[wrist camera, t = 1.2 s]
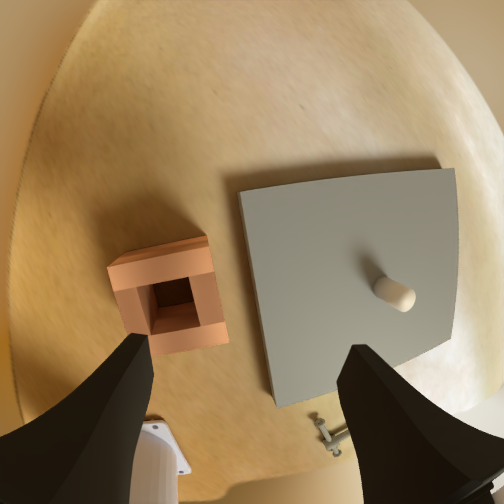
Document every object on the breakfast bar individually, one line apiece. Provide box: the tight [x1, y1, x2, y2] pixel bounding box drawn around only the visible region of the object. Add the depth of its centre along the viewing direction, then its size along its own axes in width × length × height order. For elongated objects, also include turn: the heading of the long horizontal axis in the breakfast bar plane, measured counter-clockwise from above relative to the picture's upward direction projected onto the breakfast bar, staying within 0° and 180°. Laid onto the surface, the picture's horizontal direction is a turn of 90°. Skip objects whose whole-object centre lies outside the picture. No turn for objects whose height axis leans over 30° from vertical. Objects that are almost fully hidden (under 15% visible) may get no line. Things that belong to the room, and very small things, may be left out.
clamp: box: [314, 418, 351, 457], centre depth 24 cm, size 15×2×10 cm
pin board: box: [237, 168, 459, 409], centre depth 19 cm, size 18×16×4 cm
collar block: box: [107, 235, 229, 357], centre depth 16 cm, size 5×5×4 cm
